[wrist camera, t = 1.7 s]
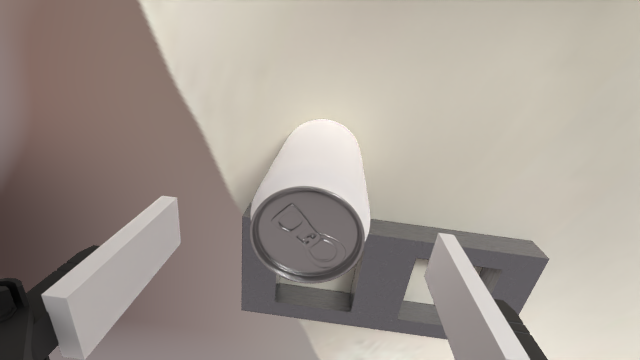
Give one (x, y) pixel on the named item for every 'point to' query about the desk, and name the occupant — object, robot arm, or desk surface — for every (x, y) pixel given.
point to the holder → (392, 279)
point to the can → (312, 205)
